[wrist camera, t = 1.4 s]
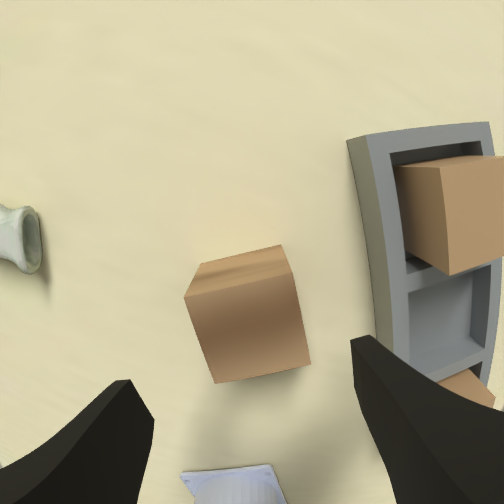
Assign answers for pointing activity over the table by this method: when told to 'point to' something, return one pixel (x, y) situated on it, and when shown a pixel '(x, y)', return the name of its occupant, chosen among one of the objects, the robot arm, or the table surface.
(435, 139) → the pocket tray
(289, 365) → the walnut block
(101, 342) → the table surface
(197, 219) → the table surface
